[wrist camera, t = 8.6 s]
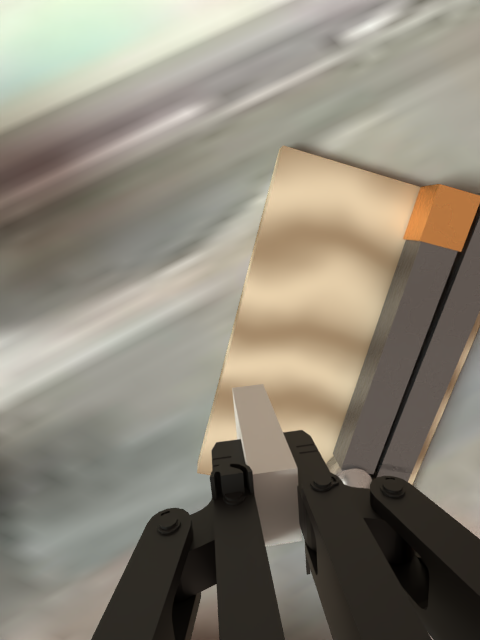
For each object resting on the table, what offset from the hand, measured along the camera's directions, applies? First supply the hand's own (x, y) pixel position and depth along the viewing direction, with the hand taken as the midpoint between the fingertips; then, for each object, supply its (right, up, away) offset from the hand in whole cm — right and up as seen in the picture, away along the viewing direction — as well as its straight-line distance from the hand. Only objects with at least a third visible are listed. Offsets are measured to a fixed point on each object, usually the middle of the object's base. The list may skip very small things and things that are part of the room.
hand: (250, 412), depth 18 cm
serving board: (+9, +2, +15) cm, 18 cm away
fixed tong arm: (+16, +2, +14) cm, 21 cm away
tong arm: (+12, +2, +14) cm, 18 cm away
